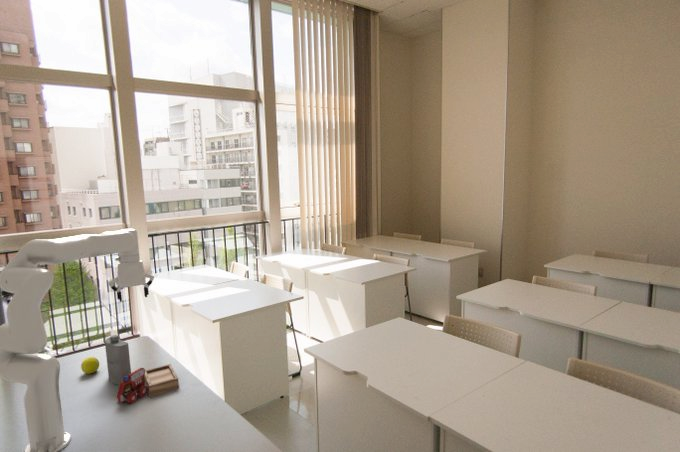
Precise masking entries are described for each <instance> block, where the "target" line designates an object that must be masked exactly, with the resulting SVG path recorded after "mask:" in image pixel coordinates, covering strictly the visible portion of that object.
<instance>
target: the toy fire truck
mask: <svg viewBox="0 0 680 452" xmlns="http://www.w3.org/2000/svg"><path fill="white" fill-rule="evenodd" d="M145 370H146V369H145V367H139V368H137V369H136V370H134V371H133V372H132V371H131V374H129V375H128V376H124V377H123V382H121V383H120V386H119V385H118V386H119V387H118V391H117V393H116V400H117V402H119V403H123V402H125V401H126V402H127V403H129V404H133V403H135V402H136V400H137V398H138V397H141V398H143V397H145V396H146V395H147V394H148V393H149V392H148V388H147V386H146V384H145V378H144V374H145ZM128 383H129V384H128Z"/></svg>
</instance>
